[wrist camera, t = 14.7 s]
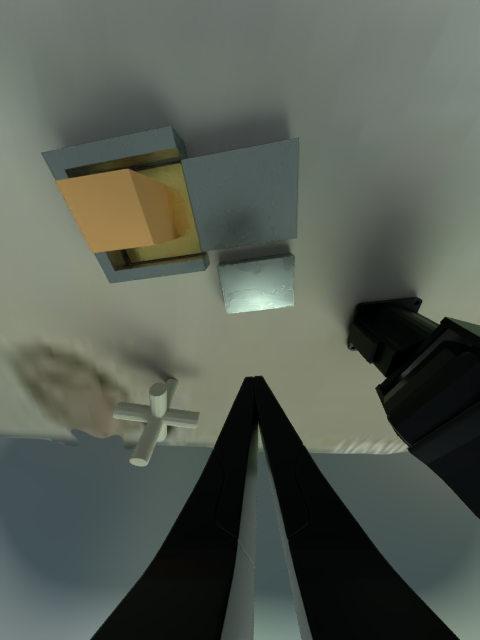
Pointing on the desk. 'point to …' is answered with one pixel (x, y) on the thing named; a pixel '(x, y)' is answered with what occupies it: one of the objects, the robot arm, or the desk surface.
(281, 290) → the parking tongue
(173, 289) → the desk surface
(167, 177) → the sliding lid box
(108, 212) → the block
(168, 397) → the pipe connector
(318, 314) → the desk surface
